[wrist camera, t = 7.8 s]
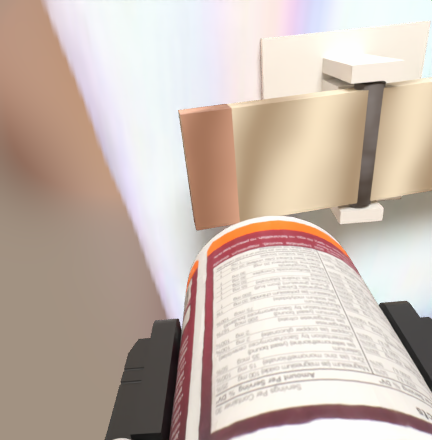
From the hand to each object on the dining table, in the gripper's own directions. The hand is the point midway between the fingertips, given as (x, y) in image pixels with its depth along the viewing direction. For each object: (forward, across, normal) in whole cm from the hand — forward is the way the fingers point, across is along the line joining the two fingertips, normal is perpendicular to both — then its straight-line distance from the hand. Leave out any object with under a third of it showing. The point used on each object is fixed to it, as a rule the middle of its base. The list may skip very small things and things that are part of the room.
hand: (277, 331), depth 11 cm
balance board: (+15, -8, -1) cm, 17 cm away
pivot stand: (+22, -8, -1) cm, 23 cm away
